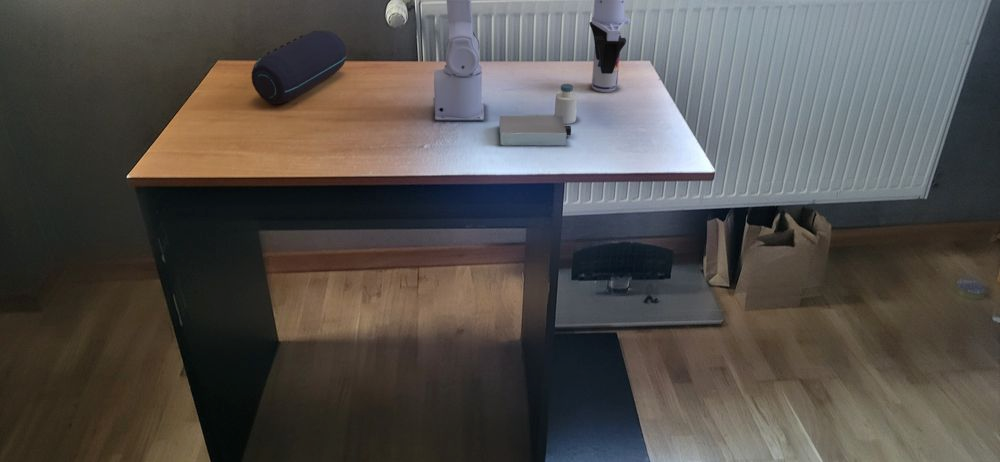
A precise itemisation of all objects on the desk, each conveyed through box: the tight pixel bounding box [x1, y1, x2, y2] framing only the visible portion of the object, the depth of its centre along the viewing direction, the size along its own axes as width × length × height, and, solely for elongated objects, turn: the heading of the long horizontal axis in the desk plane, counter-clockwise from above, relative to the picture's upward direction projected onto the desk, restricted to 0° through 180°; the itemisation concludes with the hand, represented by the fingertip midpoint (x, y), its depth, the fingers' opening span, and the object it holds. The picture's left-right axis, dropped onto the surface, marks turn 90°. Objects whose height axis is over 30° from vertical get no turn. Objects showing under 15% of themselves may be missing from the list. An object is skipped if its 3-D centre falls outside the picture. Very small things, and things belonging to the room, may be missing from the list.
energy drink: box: [591, 31, 622, 93], centre depth 169 cm, size 5×5×12 cm
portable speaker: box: [251, 30, 348, 105], centre depth 167 cm, size 25×10×10 cm, turn 159°
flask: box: [499, 115, 572, 147], centre depth 149 cm, size 13×8×2 cm, turn 91°
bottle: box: [554, 83, 578, 125], centre depth 155 cm, size 4×4×7 cm
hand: (604, 66), depth 154 cm, fingers open, 7 cm apart
